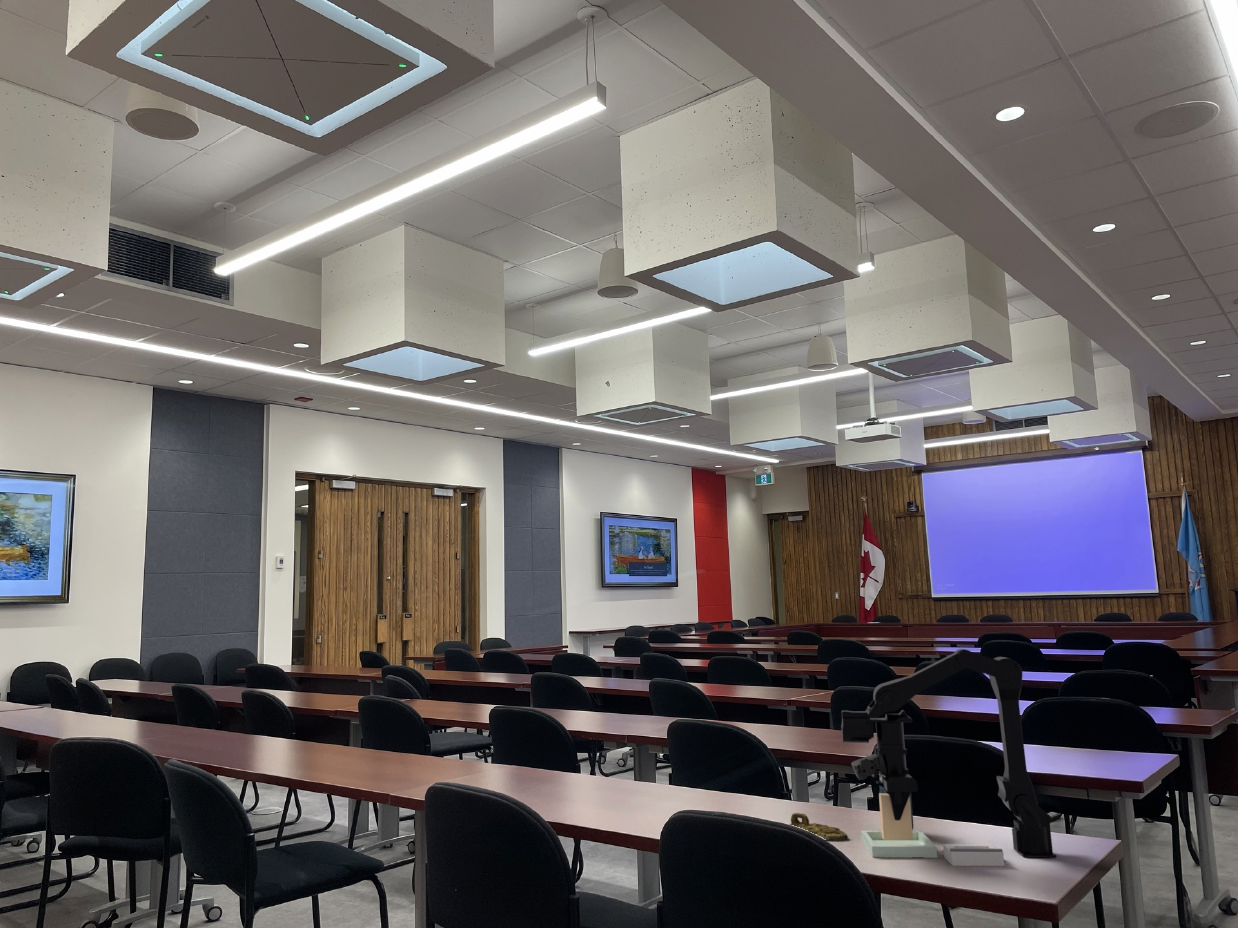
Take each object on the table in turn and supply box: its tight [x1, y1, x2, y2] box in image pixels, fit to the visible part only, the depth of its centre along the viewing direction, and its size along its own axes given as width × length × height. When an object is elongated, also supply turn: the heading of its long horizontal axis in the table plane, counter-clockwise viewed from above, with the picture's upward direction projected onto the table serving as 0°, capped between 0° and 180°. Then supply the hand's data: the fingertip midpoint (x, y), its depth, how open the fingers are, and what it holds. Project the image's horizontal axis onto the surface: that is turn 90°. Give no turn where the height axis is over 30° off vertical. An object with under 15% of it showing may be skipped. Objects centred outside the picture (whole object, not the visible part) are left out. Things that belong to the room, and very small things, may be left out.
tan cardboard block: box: [878, 792, 913, 840], centre depth 185 cm, size 6×2×9 cm, turn 84°
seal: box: [789, 812, 849, 842], centre depth 197 cm, size 9×5×15 cm
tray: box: [860, 830, 938, 859], centre depth 184 cm, size 13×13×2 cm
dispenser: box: [942, 843, 1005, 867], centre depth 174 cm, size 10×6×3 cm, turn 84°
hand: (896, 818), depth 185 cm, fingers closed on tan cardboard block, 2 cm apart
